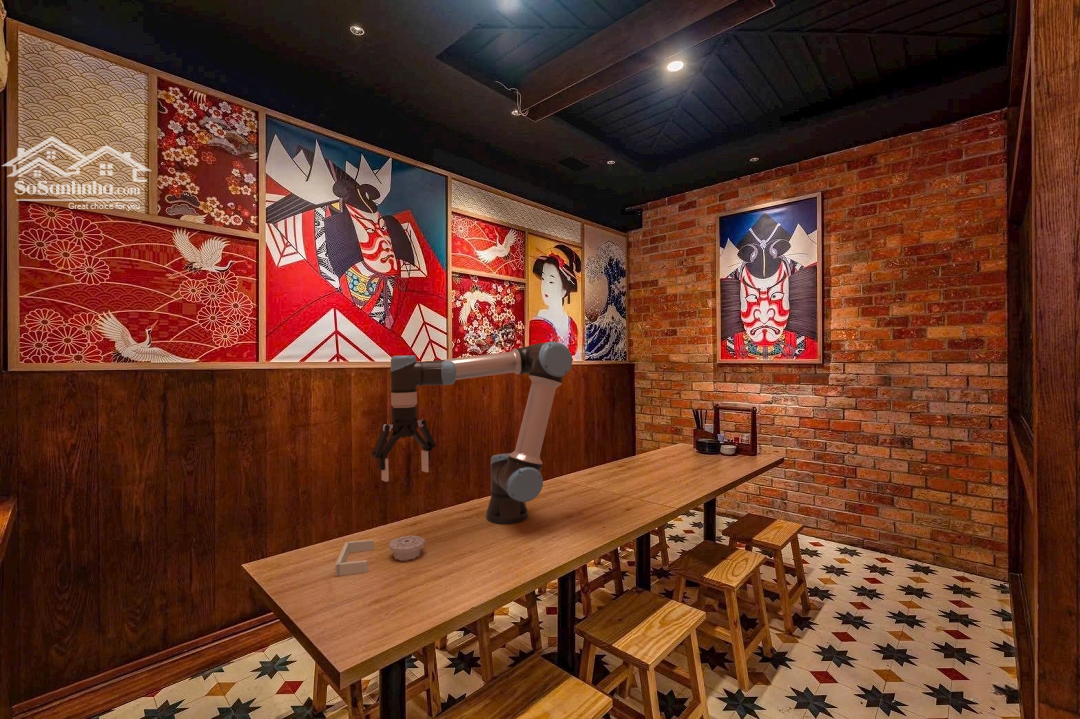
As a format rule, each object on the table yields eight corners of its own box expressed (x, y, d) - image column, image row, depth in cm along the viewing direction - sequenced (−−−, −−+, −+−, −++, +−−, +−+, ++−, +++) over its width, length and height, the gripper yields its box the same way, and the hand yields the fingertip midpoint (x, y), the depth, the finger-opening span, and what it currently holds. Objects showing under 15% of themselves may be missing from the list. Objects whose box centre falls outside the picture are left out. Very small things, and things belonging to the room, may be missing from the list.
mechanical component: (395, 534, 139) (427, 534, 139) (395, 549, 139) (428, 548, 139) (384, 548, 129) (420, 547, 129) (384, 563, 129) (420, 563, 129)
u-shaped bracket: (373, 549, 139) (373, 539, 139) (367, 572, 124) (367, 561, 124) (345, 552, 137) (345, 542, 137) (335, 576, 122) (335, 565, 122)
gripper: (432, 402, 151) (433, 466, 151) (358, 409, 133) (360, 482, 133) (445, 403, 146) (447, 469, 146) (371, 411, 127) (373, 487, 127)
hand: (405, 476), depth 139 cm, fingers open, 13 cm apart
